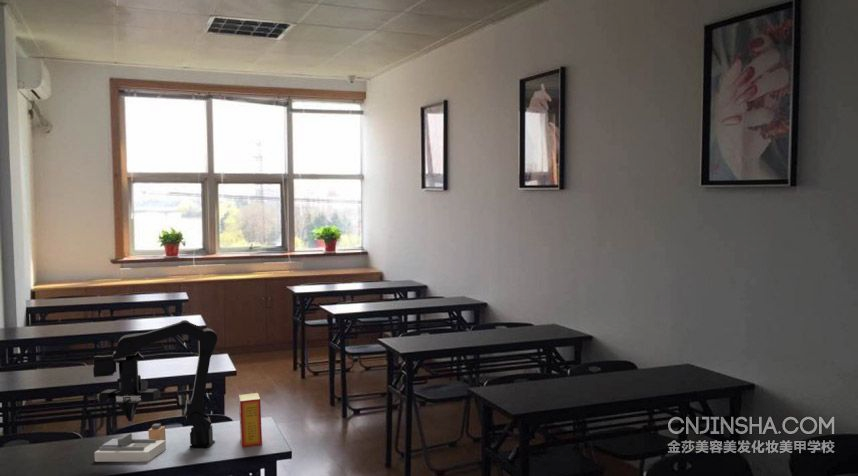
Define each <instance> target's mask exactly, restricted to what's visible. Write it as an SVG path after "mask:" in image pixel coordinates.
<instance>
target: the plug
mask: <svg viewBox="0 0 858 476" xmlns="http://www.w3.org/2000/svg"><path fill="white" fill-rule="evenodd" d="M147 430H148V432H147V433H148V439H156V440H167V439H166V436H167V435H166V426H165V425H163V426H162V423H153V424H152V425H151V427H150V428H149V429H147Z"/></svg>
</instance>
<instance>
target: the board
mask: <svg viewBox="0 0 858 476" xmlns="http://www.w3.org/2000/svg"><path fill="white" fill-rule="evenodd" d="M166 440H167V439H166ZM166 440H156V439H149V438H132V442H131V443H130V444H128V445H127V446H125V447H103V446H99V447H98V450H96V451H94V452H93V453H94V462H97V463H98V462H99V463H101V462H107V463H109V462H135V463H136V462H137V463H139V462H143V463H144V462H148V463H149V462H150V461H151V460H153V459H154V458H156V457H157V456H158V455H160V454H161V453H162V452H164V451H166V450H167V441H166Z"/></svg>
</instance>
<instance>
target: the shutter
mask: <svg viewBox="0 0 858 476" xmlns="http://www.w3.org/2000/svg"><path fill="white" fill-rule="evenodd" d="M132 439H133V434H132V432H129V433H126V434H125V435H123V436H121V437H119V438H112V439H110V440H108V441H107V442H104V443H103V444H102V446H101V447H125V446H127V445H128V444H130V443H131V442H132Z"/></svg>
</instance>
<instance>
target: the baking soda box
mask: <svg viewBox="0 0 858 476" xmlns="http://www.w3.org/2000/svg"><path fill="white" fill-rule="evenodd" d="M261 408H262V406H261V398H260V394H259V392H251V393H243V394H238V409H239V411H238V412H239V413H238V414H239V434H240V435H239V436H240V445H241V447H242V449H244V448H249V447H250V448H251V447H252V448H253V447H258V446H263V435H262V433H263V432H262V413H261V411H262V410H261Z"/></svg>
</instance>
